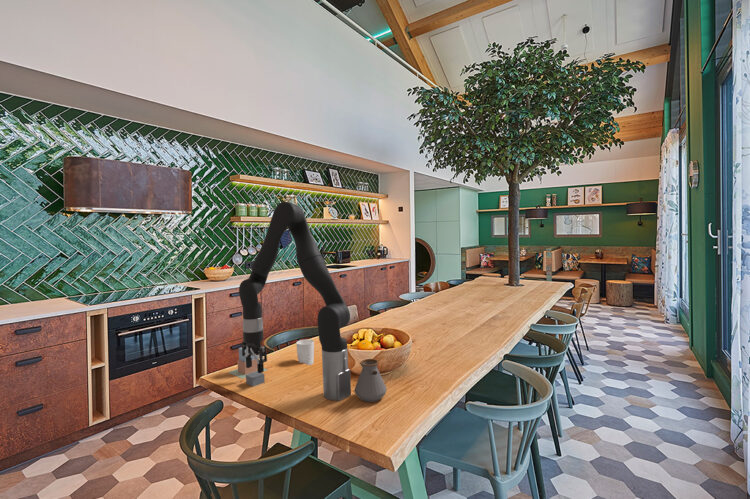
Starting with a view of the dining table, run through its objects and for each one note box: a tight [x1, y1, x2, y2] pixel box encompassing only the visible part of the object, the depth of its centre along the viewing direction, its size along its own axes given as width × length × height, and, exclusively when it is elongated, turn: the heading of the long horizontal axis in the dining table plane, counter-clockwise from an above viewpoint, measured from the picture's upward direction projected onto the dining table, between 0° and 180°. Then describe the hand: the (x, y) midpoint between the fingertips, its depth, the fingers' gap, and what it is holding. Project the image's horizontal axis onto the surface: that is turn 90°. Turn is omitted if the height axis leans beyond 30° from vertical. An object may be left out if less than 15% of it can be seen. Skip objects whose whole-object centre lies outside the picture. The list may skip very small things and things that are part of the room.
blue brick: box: [238, 346, 254, 362], centre depth 156 cm, size 5×5×5 cm
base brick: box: [236, 359, 258, 375], centre depth 156 cm, size 6×6×5 cm
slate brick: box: [245, 371, 266, 388], centre depth 143 cm, size 5×5×5 cm
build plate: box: [227, 367, 269, 380], centre depth 156 cm, size 12×12×2 cm
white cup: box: [295, 338, 315, 366], centre depth 167 cm, size 8×8×10 cm
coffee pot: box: [354, 358, 387, 403], centre depth 126 cm, size 21×12×15 cm, turn 9°
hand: (254, 369), depth 143 cm, fingers open, 8 cm apart
